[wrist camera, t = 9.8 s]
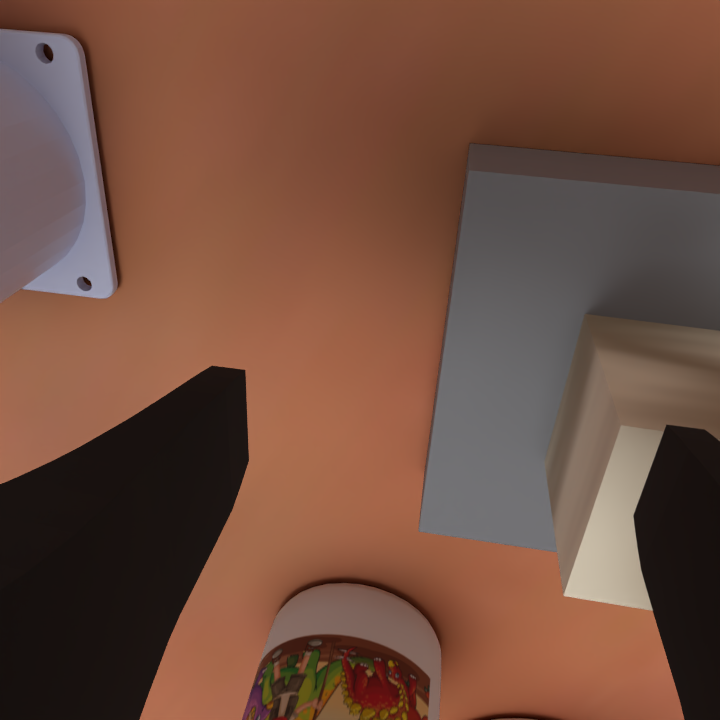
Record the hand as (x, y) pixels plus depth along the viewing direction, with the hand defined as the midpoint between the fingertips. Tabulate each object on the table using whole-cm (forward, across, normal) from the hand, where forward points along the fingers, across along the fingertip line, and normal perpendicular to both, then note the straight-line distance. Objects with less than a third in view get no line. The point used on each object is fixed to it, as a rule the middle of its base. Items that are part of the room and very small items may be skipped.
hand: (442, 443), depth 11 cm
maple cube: (+7, -6, +3) cm, 10 cm away
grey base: (+10, -6, +3) cm, 12 cm away
